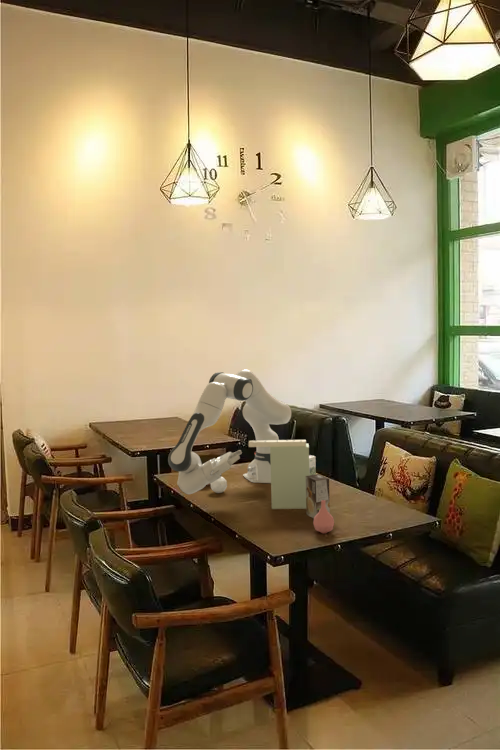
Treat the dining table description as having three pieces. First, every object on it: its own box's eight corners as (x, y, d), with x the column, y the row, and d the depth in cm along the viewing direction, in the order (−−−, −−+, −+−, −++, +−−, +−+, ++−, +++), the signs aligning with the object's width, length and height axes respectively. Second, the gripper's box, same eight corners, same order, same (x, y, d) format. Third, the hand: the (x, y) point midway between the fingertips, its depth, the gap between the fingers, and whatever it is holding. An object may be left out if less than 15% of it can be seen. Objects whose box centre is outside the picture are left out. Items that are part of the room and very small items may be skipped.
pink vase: (315, 528, 247) (315, 497, 246) (335, 529, 244) (335, 498, 243) (311, 535, 239) (311, 503, 238) (332, 536, 237) (331, 504, 236)
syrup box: (305, 484, 312) (304, 454, 311) (316, 485, 309) (315, 455, 307) (299, 487, 307) (298, 456, 306) (310, 488, 304) (309, 458, 303)
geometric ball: (218, 499, 300) (211, 488, 295) (212, 489, 306) (205, 478, 302) (232, 490, 301) (225, 479, 296) (225, 480, 307) (219, 469, 303)
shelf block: (271, 508, 274) (270, 447, 271) (272, 503, 281) (270, 443, 279) (310, 508, 272) (308, 447, 270) (309, 503, 280) (308, 443, 278)
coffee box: (330, 518, 258) (330, 478, 257) (316, 520, 256) (315, 480, 255) (319, 512, 267) (318, 473, 266) (305, 514, 264) (304, 475, 263)
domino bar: (248, 447, 274) (248, 442, 274) (249, 445, 278) (249, 440, 278) (306, 446, 272) (305, 441, 272) (305, 444, 276) (305, 439, 276)
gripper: (205, 469, 268) (233, 452, 266) (211, 458, 288) (238, 442, 287) (213, 482, 268) (242, 465, 267) (219, 470, 288) (245, 454, 287)
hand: (240, 453), depth 277 cm, fingers open, 8 cm apart
